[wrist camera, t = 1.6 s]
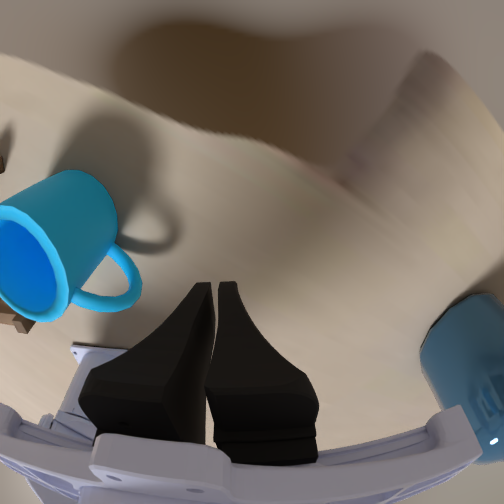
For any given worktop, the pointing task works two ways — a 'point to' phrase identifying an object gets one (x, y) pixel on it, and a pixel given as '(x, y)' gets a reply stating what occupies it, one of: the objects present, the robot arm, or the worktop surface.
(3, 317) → the wooden crate frame
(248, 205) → the worktop surface
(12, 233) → the mug
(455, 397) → the wine bottle
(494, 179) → the worktop surface
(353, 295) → the worktop surface
